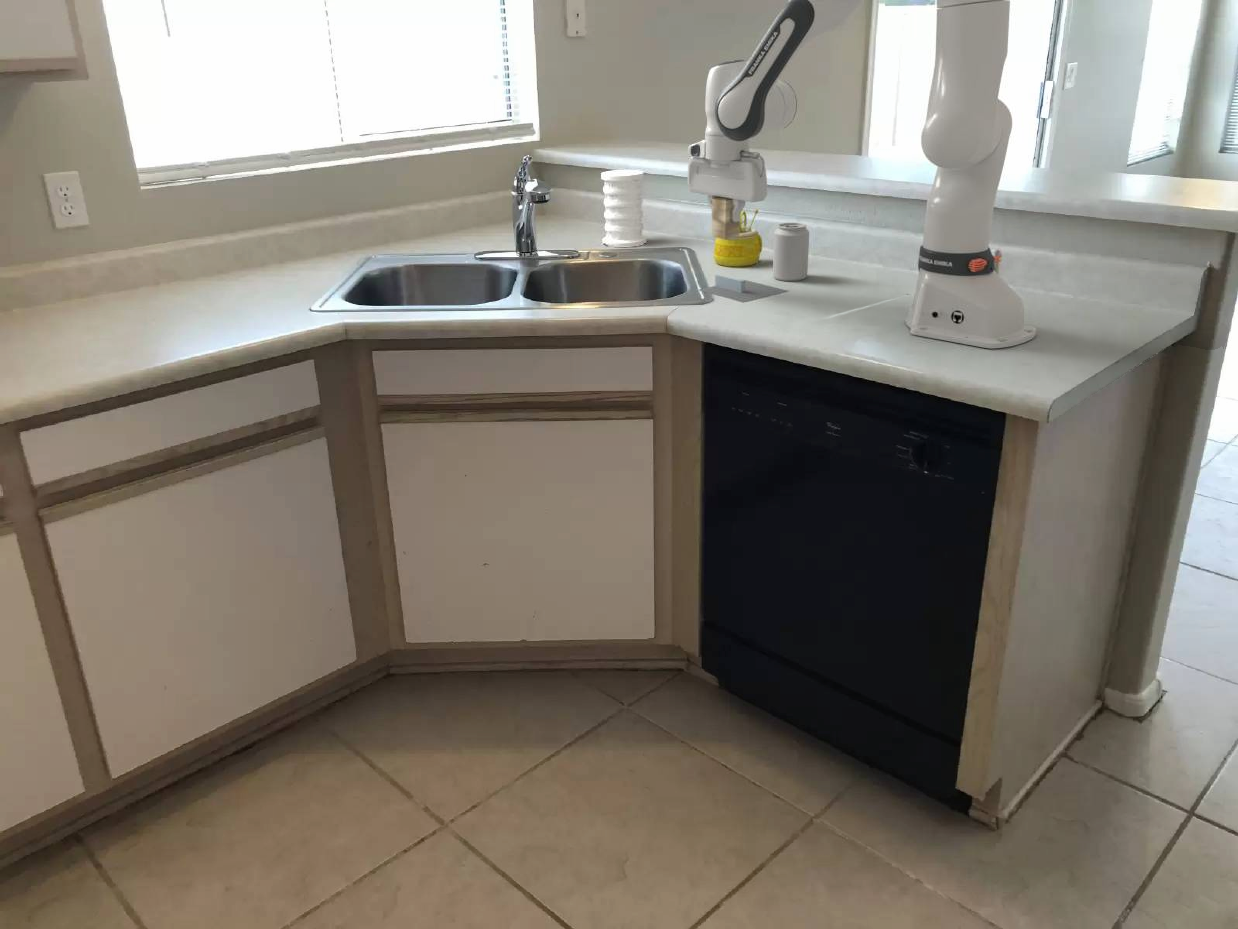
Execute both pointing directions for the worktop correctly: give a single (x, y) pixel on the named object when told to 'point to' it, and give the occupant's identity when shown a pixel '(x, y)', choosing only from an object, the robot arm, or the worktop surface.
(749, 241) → the yellow pot
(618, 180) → the decorative container
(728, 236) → the block
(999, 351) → the worktop surface
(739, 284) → the strip
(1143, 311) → the worktop surface
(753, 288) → the mat
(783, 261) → the can
